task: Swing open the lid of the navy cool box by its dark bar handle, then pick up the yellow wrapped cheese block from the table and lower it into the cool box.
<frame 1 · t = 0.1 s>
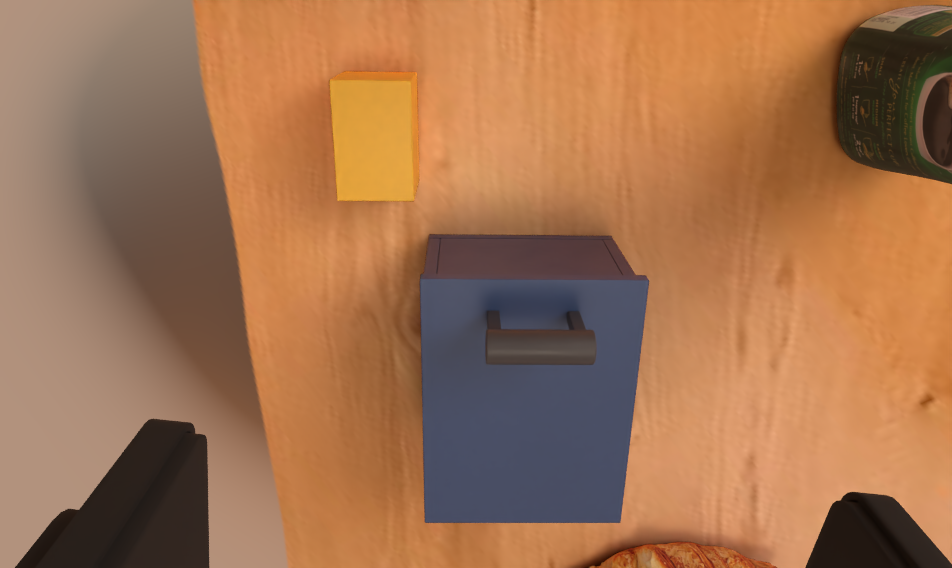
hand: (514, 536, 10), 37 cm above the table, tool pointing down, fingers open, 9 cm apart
lid: (531, 429, 39), point 12 cm above the table, hinge at 0.0°
cheese block: (382, 128, 44), on the table
cool box: (516, 339, 50), on the table
coffee jar: (891, 84, 44), on the table
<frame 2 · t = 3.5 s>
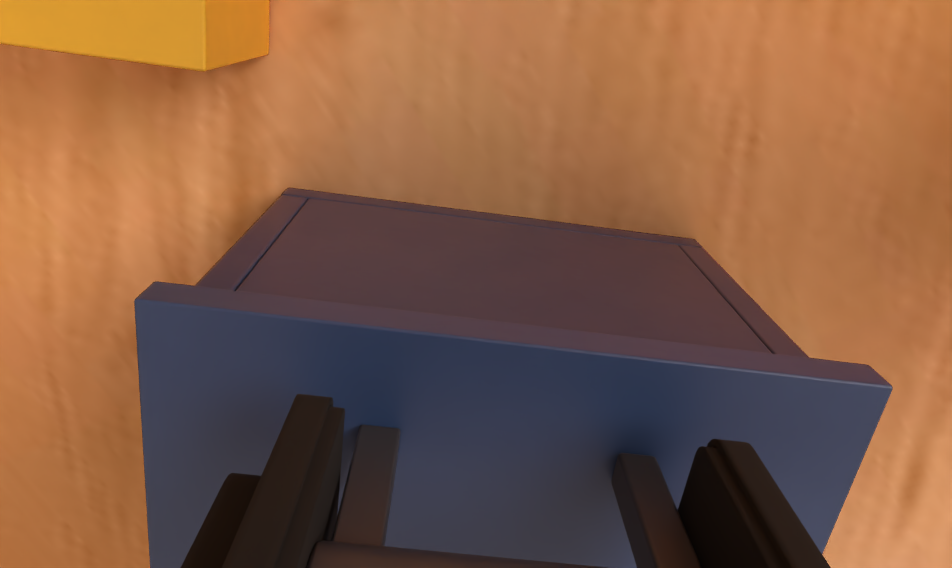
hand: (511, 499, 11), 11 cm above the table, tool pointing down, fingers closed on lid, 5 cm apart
cool box: (461, 433, 24), on the table
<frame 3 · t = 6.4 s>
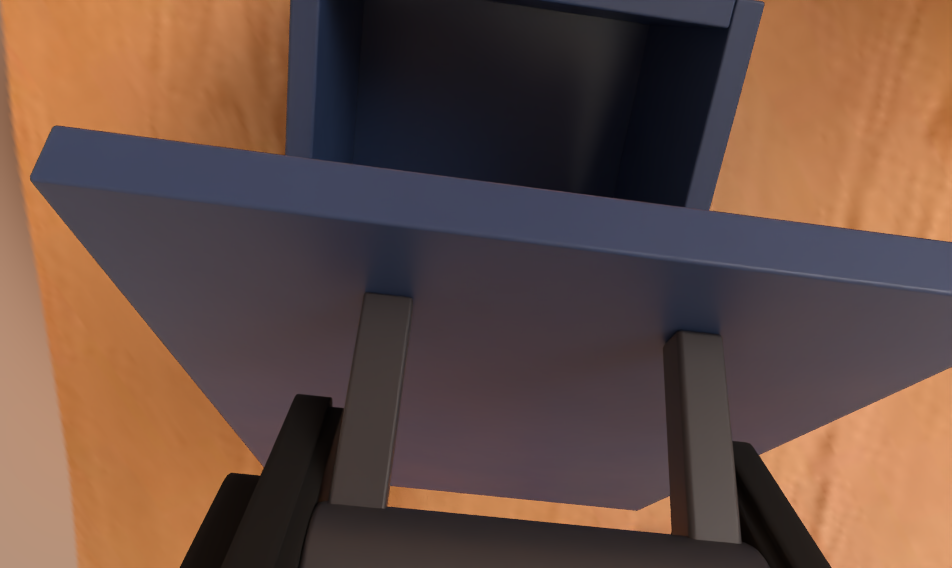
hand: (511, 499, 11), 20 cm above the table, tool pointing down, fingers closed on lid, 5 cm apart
lid: (482, 516, 15), point 17 cm above the table, hinge at 41.8°, touching gripper
cool box: (482, 184, 29), on the table
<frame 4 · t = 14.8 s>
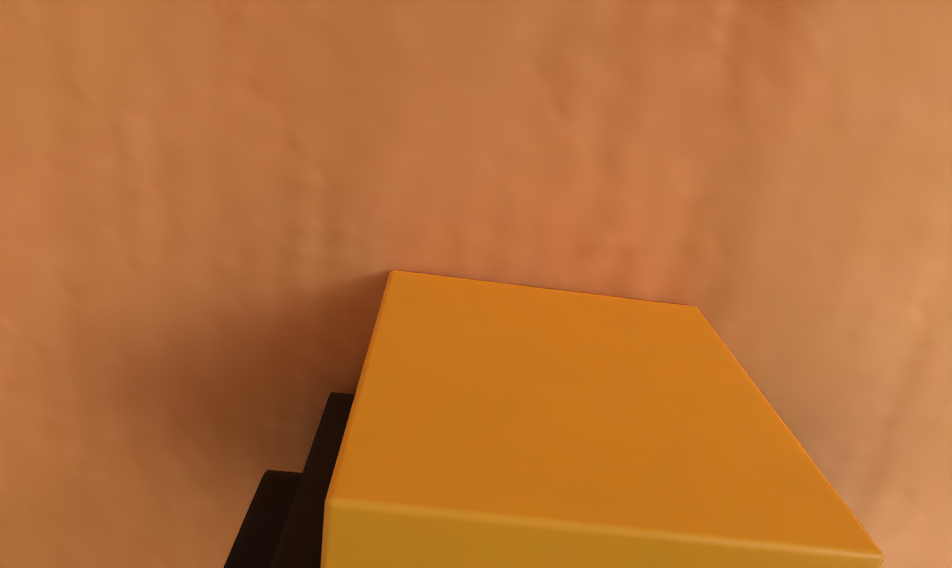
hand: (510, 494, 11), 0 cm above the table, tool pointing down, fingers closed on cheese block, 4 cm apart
cheese block: (509, 478, 11), on the table, touching gripper
when the fingers open (8 cm above the table, at t = 21.9 s): cheese block stays where it is, resting on cool box.
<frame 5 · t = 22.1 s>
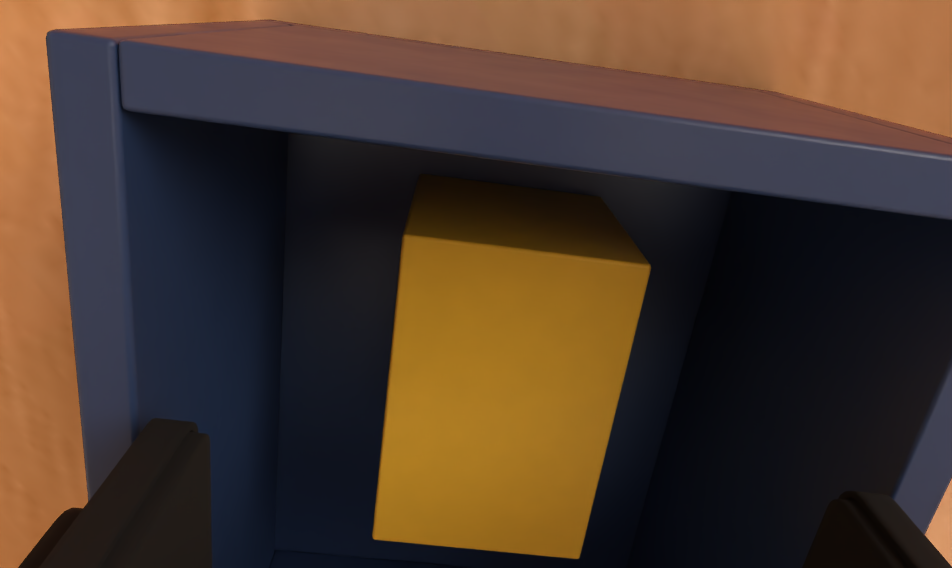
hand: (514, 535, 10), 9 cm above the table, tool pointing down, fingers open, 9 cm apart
cheese block: (491, 312, 18), point 1 cm above the table, touching cool box
cool box: (482, 349, 20), on the table
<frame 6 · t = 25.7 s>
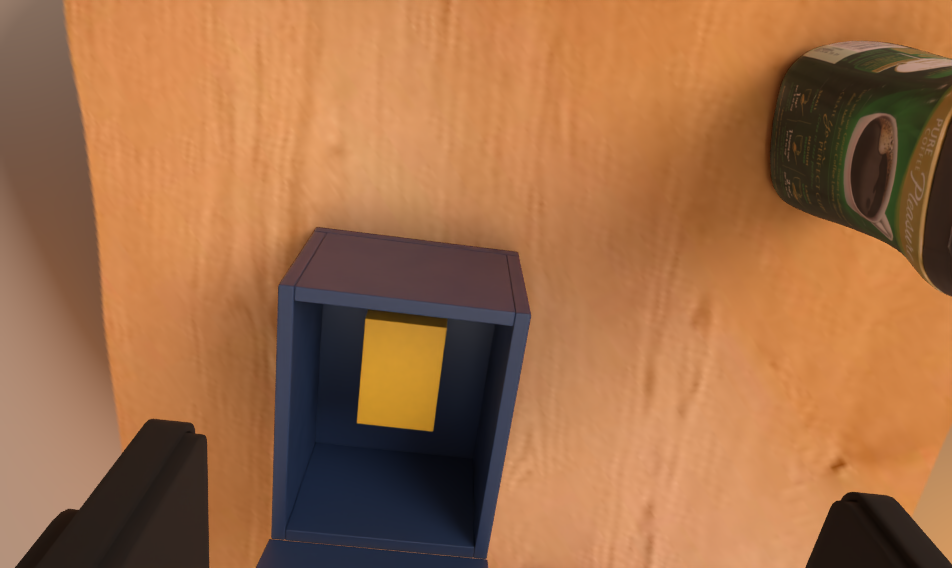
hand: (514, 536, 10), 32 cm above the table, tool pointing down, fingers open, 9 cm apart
cheese block: (407, 338, 44), point 1 cm above the table, touching cool box
cool box: (405, 353, 45), on the table
coffee jar: (831, 124, 40), on the table
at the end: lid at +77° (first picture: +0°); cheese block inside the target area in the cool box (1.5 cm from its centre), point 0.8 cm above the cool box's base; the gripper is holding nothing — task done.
